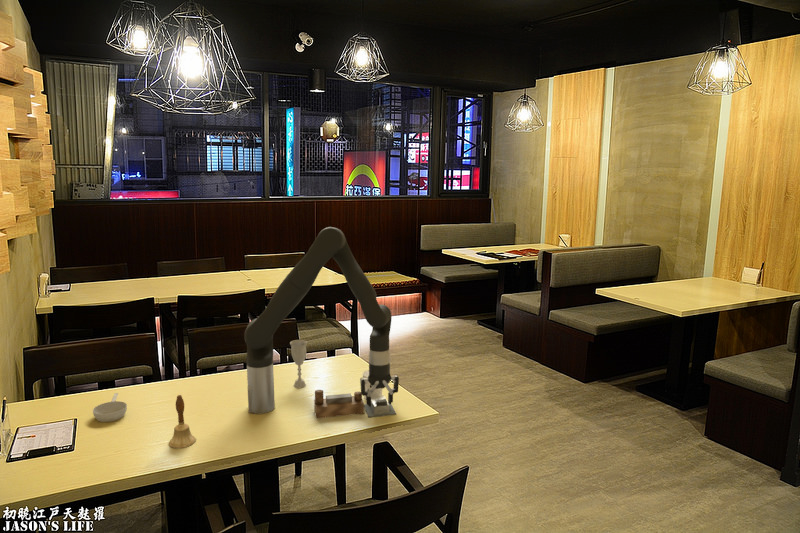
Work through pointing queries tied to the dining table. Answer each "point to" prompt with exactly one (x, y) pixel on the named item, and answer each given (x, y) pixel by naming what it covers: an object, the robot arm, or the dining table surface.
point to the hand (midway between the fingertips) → (379, 404)
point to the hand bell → (181, 429)
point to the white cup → (365, 375)
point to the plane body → (338, 404)
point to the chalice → (299, 359)
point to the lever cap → (380, 405)
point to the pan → (110, 410)
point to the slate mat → (371, 414)
